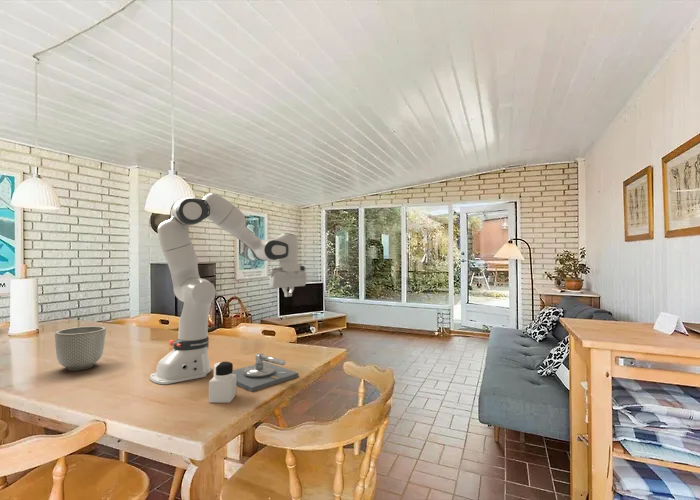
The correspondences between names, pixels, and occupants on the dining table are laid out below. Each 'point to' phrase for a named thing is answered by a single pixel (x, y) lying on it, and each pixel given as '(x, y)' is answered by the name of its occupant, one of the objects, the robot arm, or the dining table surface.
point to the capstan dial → (262, 366)
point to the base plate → (263, 378)
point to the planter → (79, 346)
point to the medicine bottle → (222, 383)
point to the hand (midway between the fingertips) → (288, 296)
